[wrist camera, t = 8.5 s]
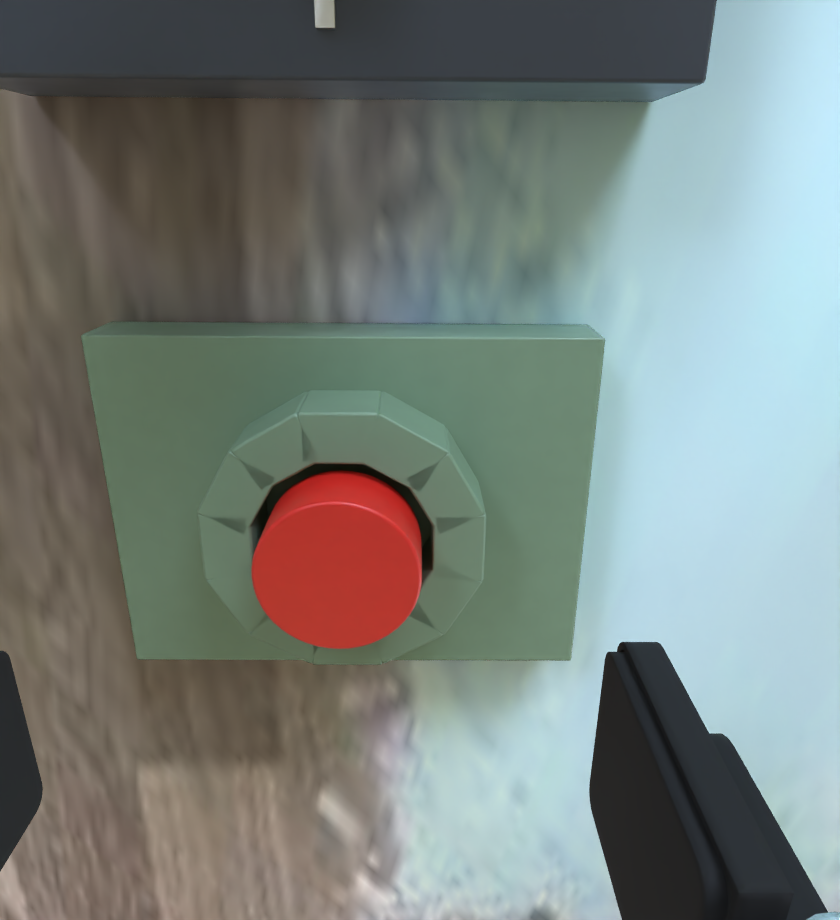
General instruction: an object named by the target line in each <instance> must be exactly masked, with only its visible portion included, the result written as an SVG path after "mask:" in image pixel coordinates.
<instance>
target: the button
mask: <svg viewBox="0 0 840 920" xmlns="http://www.w3.org/2000/svg"><path fill="white" fill-rule="evenodd" d="M251 576H252V583H253V588H254V591H255V594H256V597H257V599H258V601H259V603H260V605H261V607H262V608H263V610H264V611H265V613H266V614H267V616H268V617H269V618H270V619H271V620H272V621H273V622H274V623H275V624H276V625H277V626H278V627H279V628H280V629H282V630H283V631H285V632H286V633H287V634H289V635H291V636H292V637H294V638H296V639H298V640H300V641H303V642H305V643H308V644H311V645H315V646H318V647H324V648H332V649H348V648H355V647H361V646H365V645H368V644H371V643H374V642H376V641H379V640H381V639H382V638H384V637H386V636H388V635H389V634H391V633H392V632H393V631H395V630H396V629H397V628H398V627H399V626H400V625H401V624H402V623H403V622H404V621H405V620H406V619H407V618H408V616H409V615H410V614H411V612H412V610H413V609H414V607H415V605H416V603H417V600H418V598H419V595H420V590H421V585H422V544H421V532H420V527H419V523H418V520H417V518H416V515H415V513H414V511H413V510H412V508H411V506H410V505H409V504H408V502H407V501H406V499H405V498H404V497H403V496H402V495H401V494H400V493H399V492H398V491H396V490H395V489H394V488H393V487H391V486H390V485H388V484H387V483H385V482H383V481H382V480H380V479H377V478H375V477H373V476H370V475H367V474H364V473H360V472H354V471H343V470H339V471H328V472H322V473H318V474H315V475H312V476H309V477H307V478H305V479H303V480H301V481H299V482H298V483H296V484H295V485H293V486H292V487H291V488H289V489H288V490H287V491H286V492H285V493H284V494H283V495H282V496H281V497H280V499H279V500H278V501H277V503H276V504H275V506H274V508H273V510H272V512H271V514H270V516H269V519H268V521H267V523H266V525H265V528H264V530H263V532H262V535H261V537H260V539H259V541H258V544H257V546H256V548H255V551H254V555H253V559H252V566H251Z"/></svg>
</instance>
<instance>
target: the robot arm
mask: <svg viewBox="0 0 840 920" xmlns="http://www.w3.org/2000/svg"><path fill="white" fill-rule="evenodd" d="M42 790H43V788H42V781H41V777H40V774H39V770H38V766H37V762H36V758H35V754H34V750H33V746H32V742H31V738H30V735H29V731H28V727H27V723H26V719H25V715H24V711H23V707H22V703H21V700H20V696H19V692H18V688H17V684H16V680H15V676H14V672H13V668H12V664H11V661H10V658H9V655H8V654H7V653H6V652H4V651H0V871H1V869H2V868H3V866H4V864H5V863H6V861H7V860H8V858H9V856H10V855H11V853H12V851H13V850H14V848H15V846H16V845H17V843H18V842H19V840H20V838H21V837H22V835H23V833H24V832H25V830H26V828H27V827H28V825H29V824H30V822H31V820H32V819H33V817H34V815H35V814H36V812H37V810H38V808H39V805H40V802H41V798H42ZM589 792H590V804H591V810H592V814H593V817H594V821H595V825H596V828H597V832H598V835H599V839H600V842H601V846H602V850H603V853H604V857H605V860H606V864H607V867H608V871H609V875H610V878H611V882H612V885H613V889H614V893H615V896H616V900H617V903H618V907H619V910H620V914H621V918H622V920H840V913H838V912H829V913H828V911H827V909H826V908H825V906H824V904H823V902H822V901H821V899H820V897H819V895H818V894H817V892H816V890H815V888H814V887H813V885H812V883H811V881H810V879H809V878H808V876H807V874H806V872H805V871H804V869H803V867H802V865H801V864H800V862H799V860H798V858H797V857H796V855H795V853H794V851H793V849H792V848H791V846H790V844H789V842H788V841H787V839H786V837H785V835H784V834H783V832H782V830H781V828H780V827H779V825H778V823H777V821H776V820H775V818H774V816H773V814H772V812H771V811H770V809H769V807H768V805H767V804H766V802H765V800H764V798H763V797H762V795H761V793H760V791H759V790H758V788H757V786H756V784H755V783H754V781H753V779H752V777H751V775H750V774H749V772H748V770H747V768H746V767H745V765H744V763H743V761H742V760H741V758H740V756H739V754H738V753H737V751H736V749H735V747H734V746H733V744H732V743H731V742H730V740H729V739H728V738H727V737H726V736H724V735H723V734H709V733H708V731H707V729H706V727H705V725H704V723H703V721H702V720H701V718H700V716H699V714H698V712H697V710H696V708H695V706H694V705H693V703H692V701H691V699H690V697H689V695H688V693H687V691H686V690H685V688H684V686H683V684H682V682H681V680H680V678H679V677H678V675H677V673H676V671H675V669H674V667H673V665H672V663H671V662H670V660H669V658H668V656H667V654H666V652H665V650H664V648H663V647H662V646H661V644H660V643H658V642H622V643H620V644H619V646H618V649H617V652H608V653H607V654H606V658H605V664H604V672H603V680H602V689H601V697H600V705H599V713H598V721H597V729H596V737H595V745H594V753H593V761H592V769H591V778H590V788H589Z"/></svg>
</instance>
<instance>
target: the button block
mask: <svg viewBox="0 0 840 920" xmlns="http://www.w3.org/2000/svg"><path fill="white" fill-rule="evenodd" d="M81 339H82V344H83V350H84V356H85V362H86V367H87V373H88V379H89V385H90V390H91V396H92V402H93V408H94V413H95V419H96V425H97V431H98V437H99V442H100V448H101V454H102V460H103V465H104V471H105V477H106V483H107V488H108V494H109V500H110V506H111V512H112V517H113V523H114V529H115V535H116V540H117V546H118V552H119V558H120V563H121V569H122V575H123V581H124V586H125V592H126V598H127V604H128V610H129V615H130V621H131V627H132V633H133V638H134V644H135V650H136V656H137V659H139V660H304V661H306V662H308V663H313V664H314V665H380V664H382V663H386V662H388V661H390V660H571V654H572V645H573V636H574V626H575V617H576V608H577V598H578V589H579V579H580V570H581V561H582V551H583V542H584V532H585V523H586V514H587V504H588V495H589V486H590V476H591V467H592V457H593V448H594V439H595V429H596V420H597V411H598V401H599V392H600V382H601V373H602V364H603V354H604V345H605V338H604V337H602V336H601V335H600V334H599V333H597V332H596V331H595V330H594V329H592V328H591V327H590V326H589V325H562V324H406V323H250V322H110V323H108V324H105V325H103V326H101V327H99V328H96V329H94V330H92V331H90V332H87V333H85V334H83V335H82V336H81ZM339 470H343V471H354V472H360V473H364V474H367V475H370V476H373V477H375V478H377V479H380V480H382V481H383V482H385V483H387V484H388V485H390V486H391V487H393V488H394V489H395V490H396V491H398V492H399V493H400V494H401V495H402V496H403V497H404V498H405V499H406V501H407V502H408V504H409V505H410V506H411V508H412V510H413V511H414V513H415V515H416V518H417V520H418V523H419V527H420V532H421V544H422V585H421V590H420V595H419V598H418V600H417V603H416V605H415V607H414V609H413V610H412V612H411V614H410V615H409V616H408V618H407V619H406V620H405V621H404V622H403V623H402V624H401V625H400V626H399V627H398V628H397V629H396V630H395V631H393V632H392V633H391V634H389V635H388V636H386V637H384V638H382V639H381V640H379V641H376V642H374V643H371V644H368V645H365V646H361V647H355V648H348V649H332V648H324V647H318V646H315V645H311V644H308V643H305V642H303V641H300V640H298V639H296V638H294V637H292V636H291V635H289V634H287V633H286V632H285V631H283V630H282V629H280V628H279V627H278V626H277V625H276V624H275V623H274V622H273V621H272V620H271V619H270V618H269V617H268V616H267V614H266V613H265V611H264V610H263V608H262V607H261V605H260V603H259V601H258V599H257V597H256V594H255V591H254V588H253V583H252V576H251V566H252V559H253V555H254V551H255V548H256V546H257V544H258V541H259V539H260V537H261V535H262V532H263V530H264V528H265V525H266V523H267V521H268V519H269V516H270V514H271V512H272V510H273V508H274V506H275V504H276V503H277V501H278V500H279V499H280V497H281V496H282V495H283V494H284V493H285V492H286V491H287V490H288V489H289V488H291V487H292V486H293V485H295V484H296V483H298V482H299V481H301V480H303V479H305V478H307V477H309V476H312V475H315V474H318V473H322V472H328V471H339Z"/></svg>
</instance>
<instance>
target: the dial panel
mask: <svg viewBox="0 0 840 920" xmlns="http://www.w3.org/2000/svg"><path fill="white" fill-rule="evenodd" d="M716 1H717V0H0V88H1V89H5V90H9V91H13V92H18V93H22V94H26V95H30V96H90V97H198V98H306V99H414V100H523V101H631V102H652V101H655V100H658V99H661V98H663V97H666V96H669V95H672V94H675V93H677V92H680V91H683V90H686V89H689V88H691V87H694V86H697V85H700V84H702V83H704V81H705V79H706V72H707V65H708V58H709V51H710V44H711V37H712V30H713V23H714V16H715V8H716Z"/></svg>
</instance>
